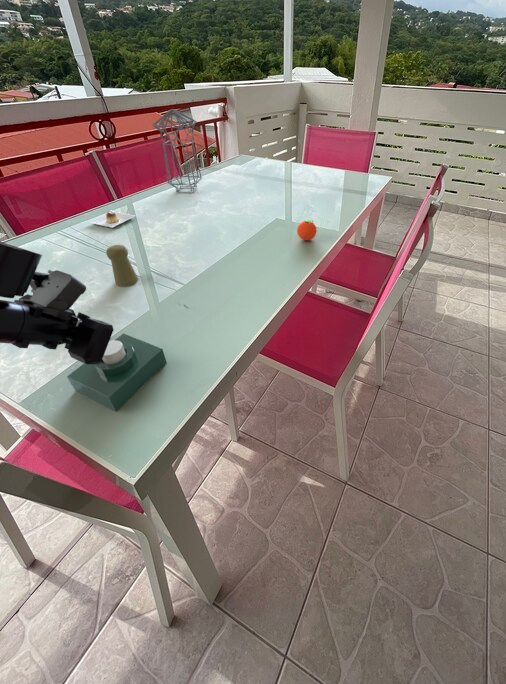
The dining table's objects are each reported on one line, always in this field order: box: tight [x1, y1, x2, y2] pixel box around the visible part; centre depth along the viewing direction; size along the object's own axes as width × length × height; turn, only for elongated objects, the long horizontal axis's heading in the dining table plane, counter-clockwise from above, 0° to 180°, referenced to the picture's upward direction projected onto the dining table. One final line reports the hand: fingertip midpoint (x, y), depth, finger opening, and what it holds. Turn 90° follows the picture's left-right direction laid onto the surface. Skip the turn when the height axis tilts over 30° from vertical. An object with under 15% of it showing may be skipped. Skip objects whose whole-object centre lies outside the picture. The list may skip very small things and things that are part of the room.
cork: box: [105, 244, 139, 288], centre depth 92 cm, size 6×6×11 cm
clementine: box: [296, 219, 318, 241], centre depth 117 cm, size 8×7×7 cm
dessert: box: [87, 209, 136, 229], centre depth 128 cm, size 12×12×5 cm
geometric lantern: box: [151, 108, 203, 194], centre depth 151 cm, size 16×16×35 cm
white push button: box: [102, 339, 126, 365], centre depth 63 cm, size 4×4×2 cm
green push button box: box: [66, 332, 168, 413], centre depth 65 cm, size 13×11×6 cm
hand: (104, 332), depth 60 cm, fingers closed
